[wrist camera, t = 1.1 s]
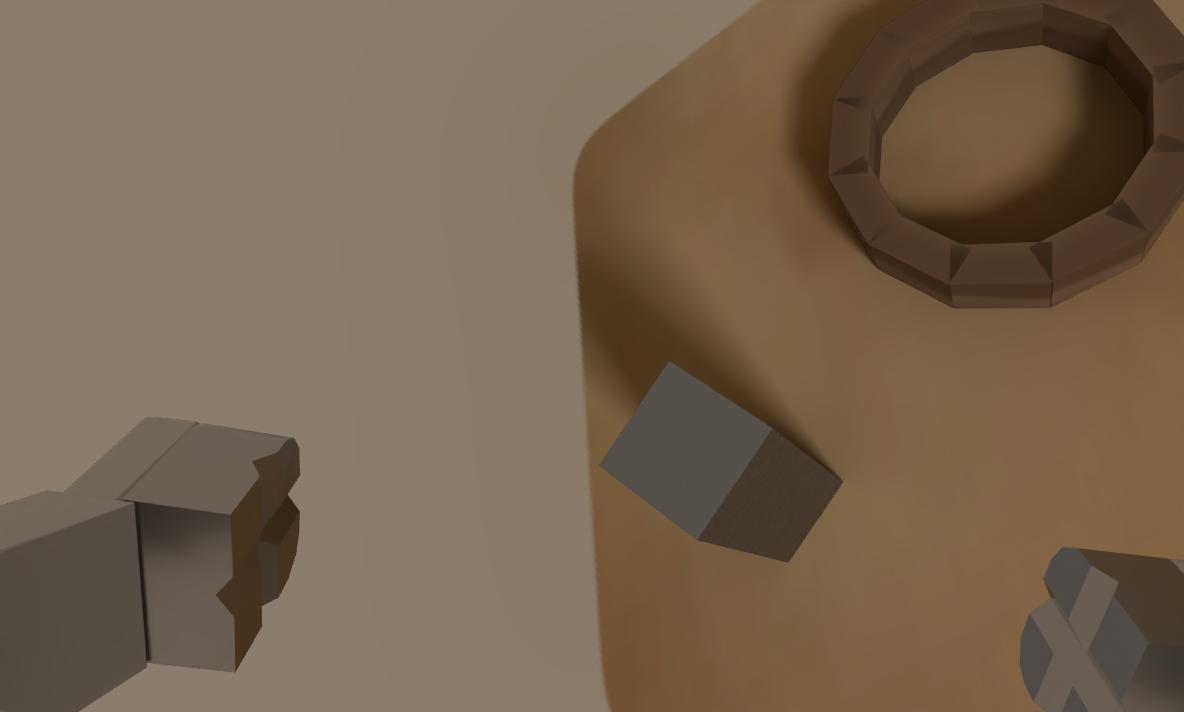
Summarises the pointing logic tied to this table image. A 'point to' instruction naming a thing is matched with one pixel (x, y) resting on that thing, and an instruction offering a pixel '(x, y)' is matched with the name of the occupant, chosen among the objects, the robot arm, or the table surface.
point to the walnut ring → (994, 22)
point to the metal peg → (719, 469)
